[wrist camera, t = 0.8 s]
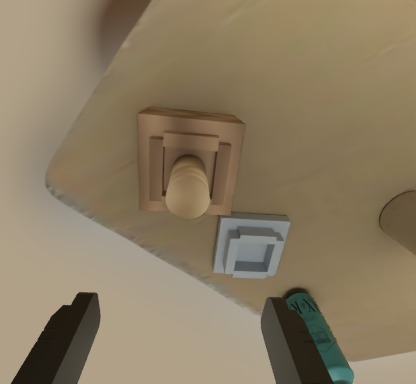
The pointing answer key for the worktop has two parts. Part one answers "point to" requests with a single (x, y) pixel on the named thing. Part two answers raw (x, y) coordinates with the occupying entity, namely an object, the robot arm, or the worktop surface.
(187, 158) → the birch peg
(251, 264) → the slate dock
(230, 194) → the walnut dock
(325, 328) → the beverage bottle
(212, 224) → the worktop surface
